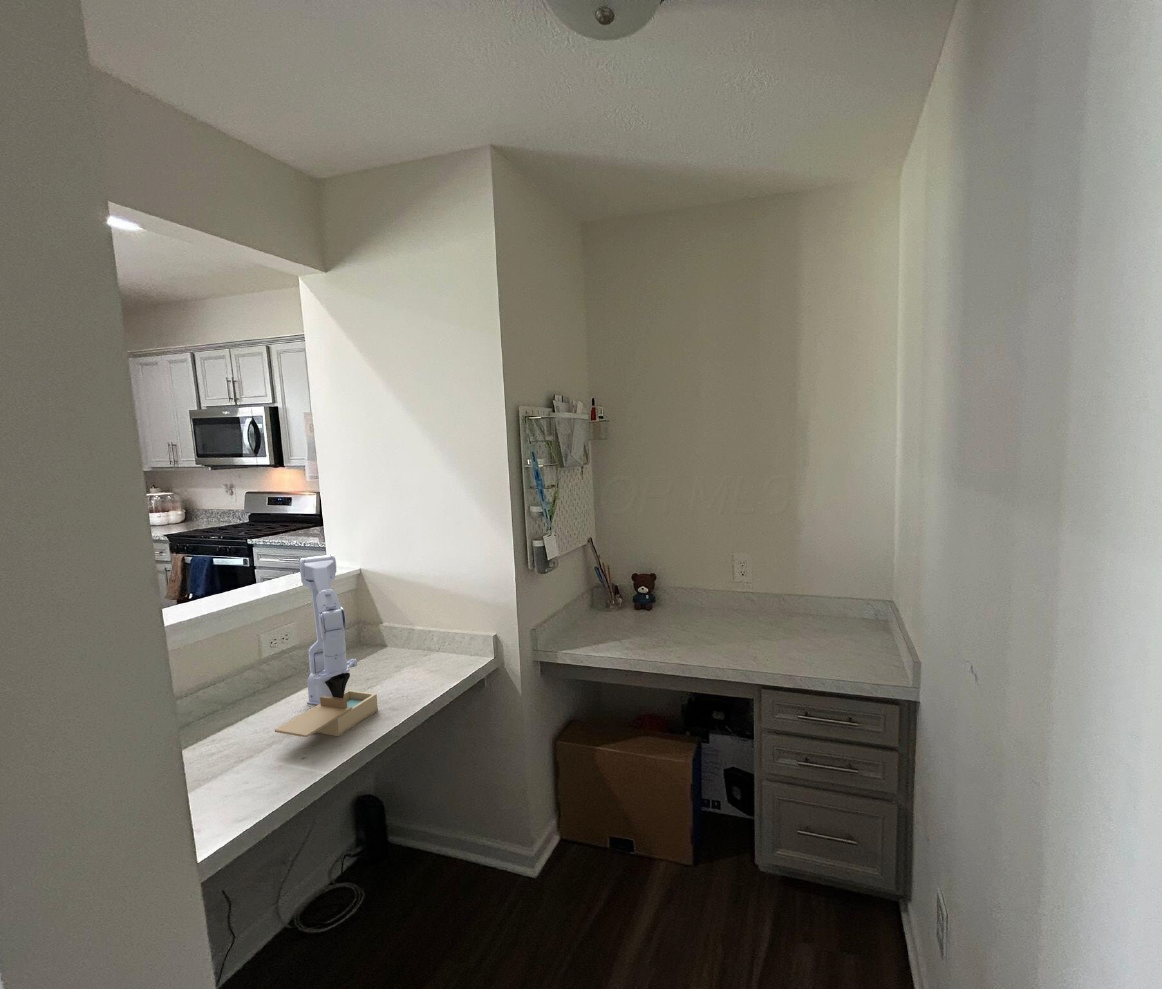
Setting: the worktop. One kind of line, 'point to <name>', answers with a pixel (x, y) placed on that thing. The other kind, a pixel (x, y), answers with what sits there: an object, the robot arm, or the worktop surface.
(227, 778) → the worktop surface
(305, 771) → the worktop surface
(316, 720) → the lid
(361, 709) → the lidded box
